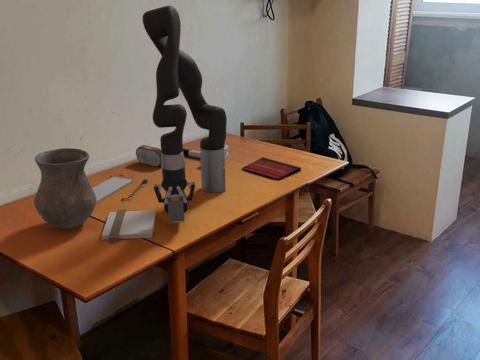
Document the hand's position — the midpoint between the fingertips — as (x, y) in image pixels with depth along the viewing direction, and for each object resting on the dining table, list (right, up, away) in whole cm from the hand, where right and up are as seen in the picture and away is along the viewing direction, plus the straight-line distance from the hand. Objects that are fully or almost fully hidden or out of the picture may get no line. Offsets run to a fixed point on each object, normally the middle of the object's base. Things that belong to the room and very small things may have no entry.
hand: (176, 212), depth 184 cm
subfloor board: (-16, -5, +1) cm, 16 cm away
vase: (-37, -5, +2) cm, 37 cm away
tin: (-18, +17, +59) cm, 64 cm away
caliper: (-18, +6, +30) cm, 36 cm away
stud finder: (0, -1, +1) cm, 2 cm away
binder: (+34, +14, +51) cm, 63 cm away
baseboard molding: (-34, +5, +29) cm, 45 cm away
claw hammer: (+1, +21, +70) cm, 73 cm away
